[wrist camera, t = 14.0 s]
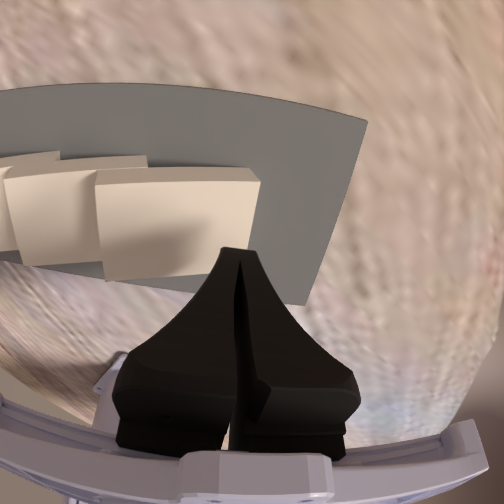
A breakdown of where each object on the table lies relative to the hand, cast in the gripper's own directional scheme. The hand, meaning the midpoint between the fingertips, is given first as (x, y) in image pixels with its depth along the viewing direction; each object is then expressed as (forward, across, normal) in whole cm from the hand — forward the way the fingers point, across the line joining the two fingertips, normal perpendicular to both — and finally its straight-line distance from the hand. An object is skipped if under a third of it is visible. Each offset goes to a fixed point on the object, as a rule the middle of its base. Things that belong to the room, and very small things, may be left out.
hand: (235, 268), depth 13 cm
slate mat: (+5, +9, 0) cm, 10 cm away
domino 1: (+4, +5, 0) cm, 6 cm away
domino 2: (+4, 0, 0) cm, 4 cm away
